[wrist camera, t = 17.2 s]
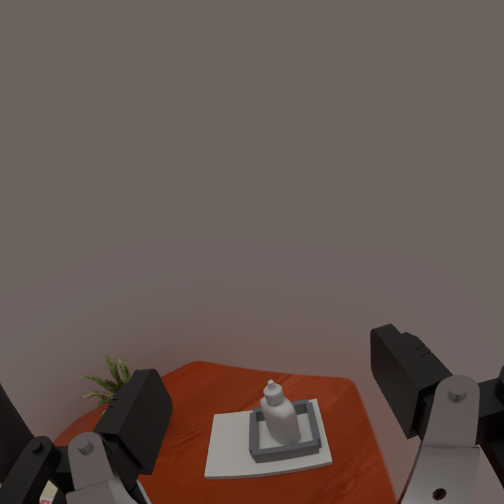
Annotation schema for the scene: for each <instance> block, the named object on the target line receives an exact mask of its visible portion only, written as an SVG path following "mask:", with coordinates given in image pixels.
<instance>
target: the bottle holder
mask: <svg viewBox="0 0 504 504" xmlns="http://www.w3.org/2000/svg"><path fill="white" fill-rule="evenodd" d="M291 404H292V405H293V407H294V409H295V411H296V415H297V420H298V425H299V429H300V434H301V440H300V441H299V442H297V443H296V444H291V445H282V444H280V443H278V442H277V441H275V440H274V439H273V438H272V436H271V435H270V433H269V430H268V427H267V424H266V421H265V418H264V415H263V412H262V408H261V407H259V408H253V410H252V411H245V412H236V413H227V414H216V415H214V420H213V426H212V432H211V438H210V445H209V451H208V457H207V463H206V469H205V475H204V477H205V478H206V479H239V478H253V477H263V476H272V475H279V474H286V473H293V472H298V471H304V470H309V469H314V468H319V467H323V466H328V465H332V458H331V454H330V450H329V446H328V442H327V438H326V434H325V430H324V426H323V422H322V418H321V414H320V411H319V407H318V403H317V399H313V400H308V399H303V400H299V401H294V402H291Z"/></svg>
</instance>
